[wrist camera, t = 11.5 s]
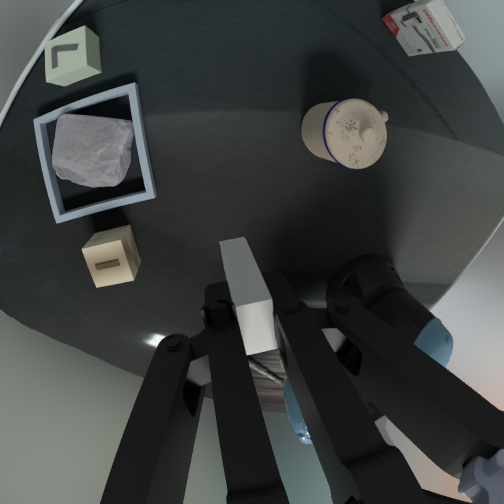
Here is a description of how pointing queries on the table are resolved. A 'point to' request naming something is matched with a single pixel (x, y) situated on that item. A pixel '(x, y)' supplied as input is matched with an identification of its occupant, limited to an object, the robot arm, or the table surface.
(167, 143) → the table surface
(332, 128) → the teacup with lid
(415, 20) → the ink box
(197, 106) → the table surface
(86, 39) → the numbered sage-green block
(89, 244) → the numbered birch block
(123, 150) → the stone block
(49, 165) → the slate-blue holder
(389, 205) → the table surface
